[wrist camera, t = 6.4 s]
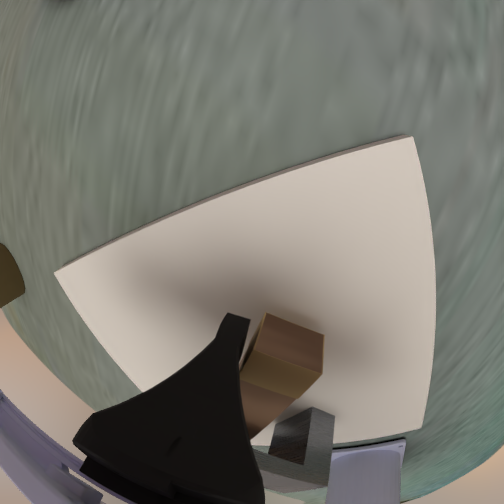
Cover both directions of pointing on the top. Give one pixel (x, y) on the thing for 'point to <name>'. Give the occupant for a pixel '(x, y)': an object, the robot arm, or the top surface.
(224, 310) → the board
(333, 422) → the keeper
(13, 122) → the top surface
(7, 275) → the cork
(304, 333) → the link
